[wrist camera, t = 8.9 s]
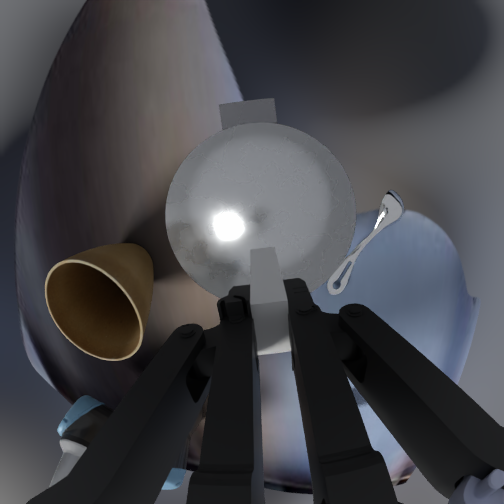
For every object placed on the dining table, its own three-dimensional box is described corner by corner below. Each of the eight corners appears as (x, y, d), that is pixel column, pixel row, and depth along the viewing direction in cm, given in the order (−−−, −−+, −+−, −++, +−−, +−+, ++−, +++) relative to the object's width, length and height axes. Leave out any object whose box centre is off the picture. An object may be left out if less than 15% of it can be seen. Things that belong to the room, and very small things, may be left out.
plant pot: (85, 260, 43) (33, 304, 28) (129, 203, 39) (71, 233, 24) (141, 316, 47) (107, 376, 32) (193, 269, 43) (166, 328, 28)
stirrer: (344, 306, 41) (323, 293, 41) (338, 296, 45) (317, 284, 44) (413, 203, 37) (395, 185, 36) (402, 200, 40) (384, 183, 39)
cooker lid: (190, 306, 31) (188, 313, 30) (152, 121, 24) (146, 120, 22) (349, 287, 31) (354, 294, 29) (341, 98, 23) (347, 95, 21)
